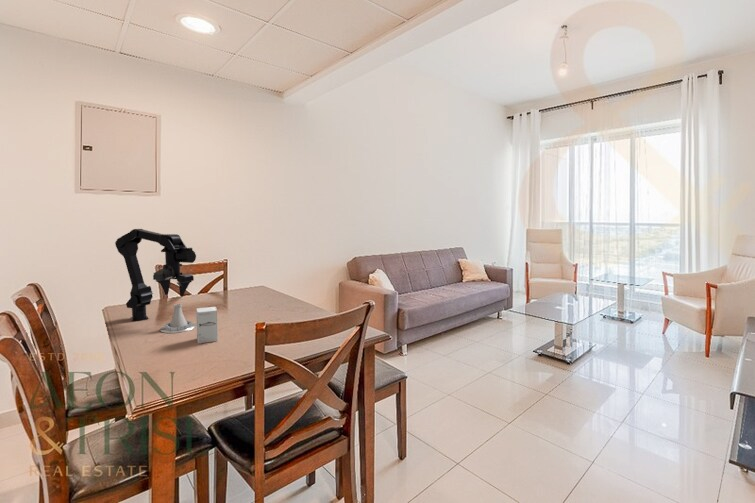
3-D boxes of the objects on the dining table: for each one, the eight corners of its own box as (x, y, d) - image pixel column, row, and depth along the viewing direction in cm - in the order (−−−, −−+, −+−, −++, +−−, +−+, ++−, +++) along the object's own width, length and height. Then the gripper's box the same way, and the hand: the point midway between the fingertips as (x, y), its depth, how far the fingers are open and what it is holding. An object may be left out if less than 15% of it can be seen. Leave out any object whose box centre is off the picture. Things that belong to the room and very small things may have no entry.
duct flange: (157, 327, 165) (157, 323, 165) (191, 321, 174) (191, 317, 174) (163, 335, 154) (163, 330, 154) (199, 328, 163) (199, 324, 163)
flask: (177, 330, 160) (177, 307, 159) (165, 328, 162) (164, 305, 161) (191, 325, 166) (190, 303, 165) (179, 324, 169) (178, 302, 168)
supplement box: (197, 344, 144) (196, 312, 143) (196, 338, 151) (195, 307, 150) (218, 341, 148) (217, 310, 147) (216, 335, 154) (215, 306, 153)
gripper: (141, 262, 166) (143, 297, 167) (173, 265, 160) (174, 301, 161) (163, 260, 176) (164, 292, 178) (193, 262, 170) (195, 296, 172)
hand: (174, 295), depth 172 cm, fingers open, 9 cm apart
